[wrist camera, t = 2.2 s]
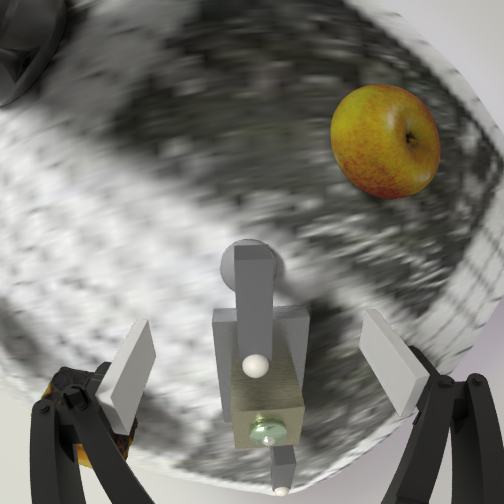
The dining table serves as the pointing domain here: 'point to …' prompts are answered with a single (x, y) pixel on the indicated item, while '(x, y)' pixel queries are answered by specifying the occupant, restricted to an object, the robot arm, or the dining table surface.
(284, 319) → the level base
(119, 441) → the candle
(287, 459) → the knob
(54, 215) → the dining table surface
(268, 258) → the knob
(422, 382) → the robot arm
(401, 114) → the fruit
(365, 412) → the dining table surface
